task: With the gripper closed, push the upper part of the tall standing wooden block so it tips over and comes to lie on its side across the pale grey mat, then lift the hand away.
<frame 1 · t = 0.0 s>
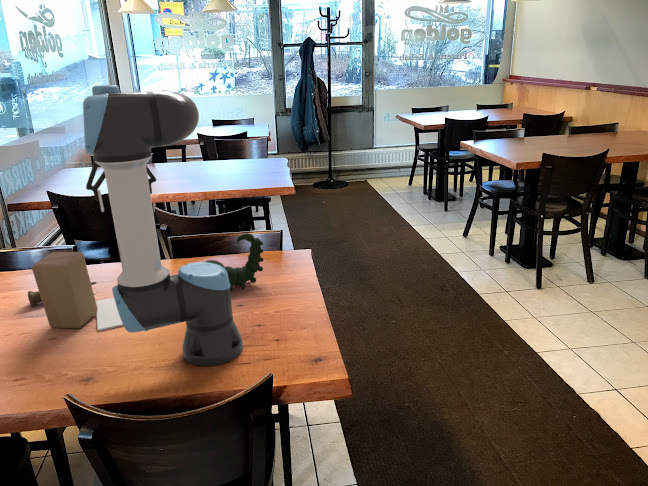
hand: (126, 207, 161), 28 cm above the table, tool pointing down, fingers open, 13 cm apart
wooden block: (75, 320, 151), on the table, touching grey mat
toy figurine: (228, 289, 168), on the table
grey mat: (127, 310, 156), on the table
kendama: (65, 299, 166), on the table
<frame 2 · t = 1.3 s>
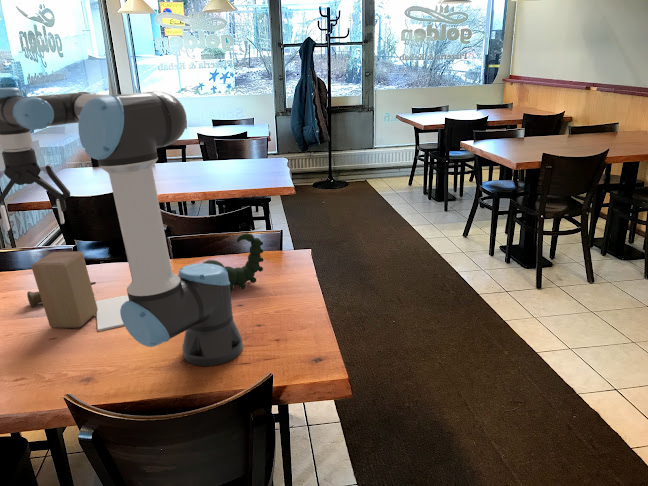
hand: (35, 226, 142), 29 cm above the table, tool pointing down, fingers open, 13 cm apart
wooden block: (75, 320, 151), on the table, touching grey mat
everything else where it was.
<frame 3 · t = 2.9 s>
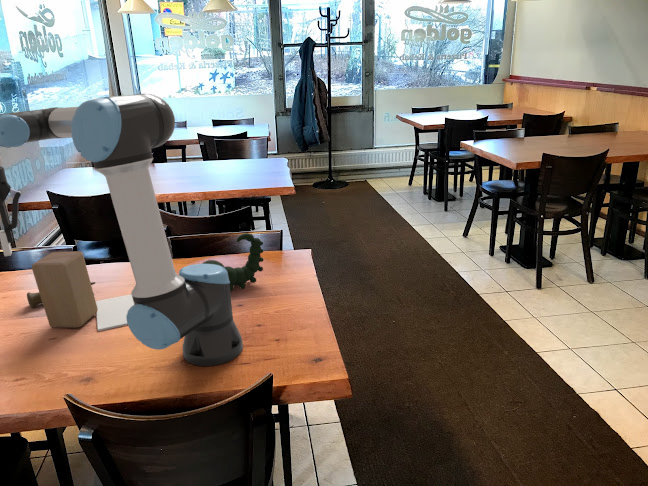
hand: (8, 254, 139), 23 cm above the table, tool pointing down, fingers closed
nothing on the table moved.
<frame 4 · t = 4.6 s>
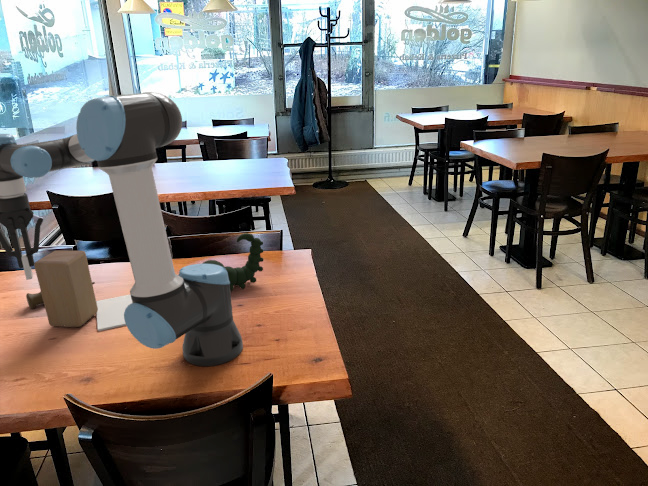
hand: (29, 277, 142), 16 cm above the table, tool pointing down, fingers closed
wooden block: (75, 319, 151), on the table, touching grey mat, gripper
everything else where it was.
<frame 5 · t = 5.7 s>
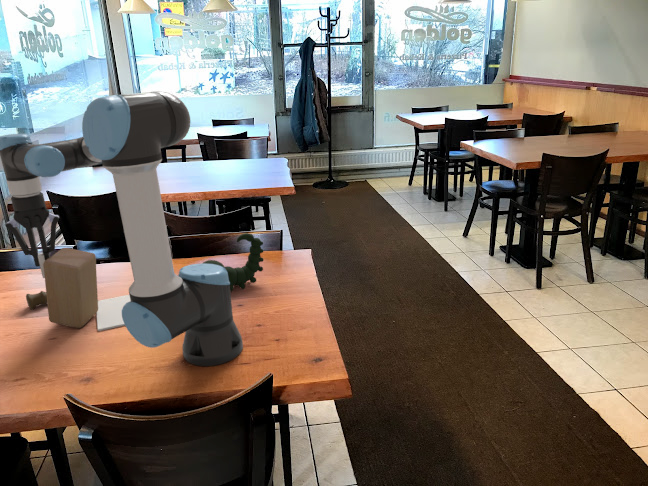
hand: (46, 275, 144), 15 cm above the table, tool pointing down, fingers closed
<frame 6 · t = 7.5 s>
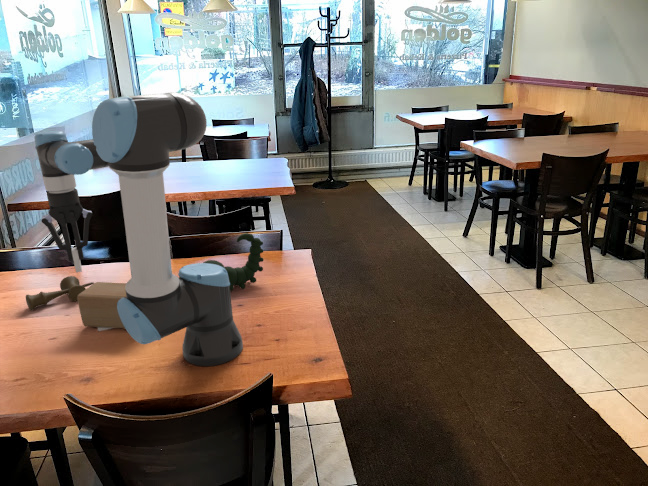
hand: (78, 270, 147), 15 cm above the table, tool pointing down, fingers closed
wooden block: (88, 303, 149), point 6 cm above the table, touching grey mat
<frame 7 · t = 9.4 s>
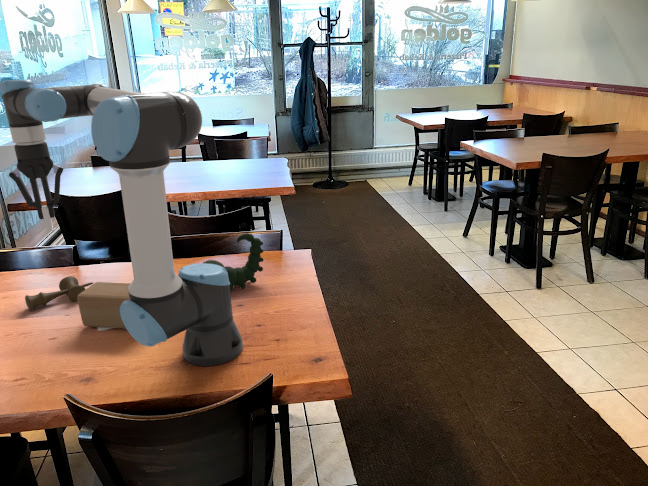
hand: (50, 229, 141), 29 cm above the table, tool pointing down, fingers closed
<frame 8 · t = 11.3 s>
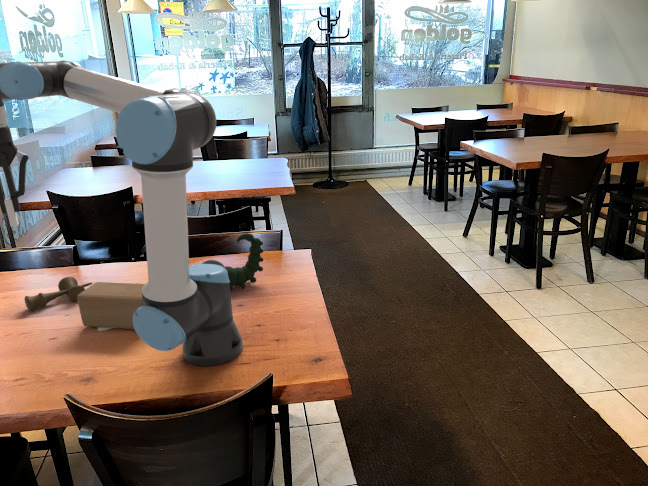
hand: (14, 225, 125), 34 cm above the table, tool pointing down, fingers closed
at the end: wooden block tilted 90°; wooden block touching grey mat; wooden block inside the target area (6.8 cm from its centre), point 5.6 cm above the table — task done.
